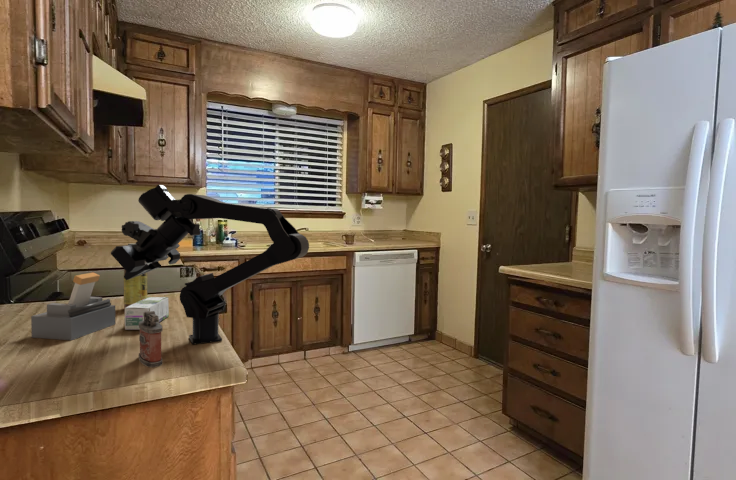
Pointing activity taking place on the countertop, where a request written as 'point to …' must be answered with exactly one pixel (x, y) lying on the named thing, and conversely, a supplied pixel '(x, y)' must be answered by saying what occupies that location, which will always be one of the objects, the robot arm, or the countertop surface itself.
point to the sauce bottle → (135, 287)
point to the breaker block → (73, 319)
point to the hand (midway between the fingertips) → (125, 278)
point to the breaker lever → (83, 288)
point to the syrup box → (137, 310)
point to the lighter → (150, 340)
